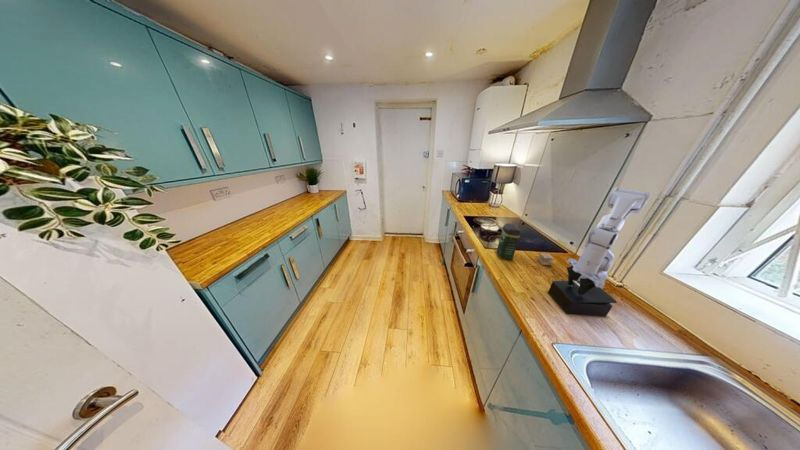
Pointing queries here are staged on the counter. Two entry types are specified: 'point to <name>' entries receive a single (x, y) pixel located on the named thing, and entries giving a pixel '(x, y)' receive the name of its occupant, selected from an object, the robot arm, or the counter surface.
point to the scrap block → (545, 259)
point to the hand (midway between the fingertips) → (575, 288)
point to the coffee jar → (508, 241)
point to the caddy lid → (589, 297)
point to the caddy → (578, 305)
